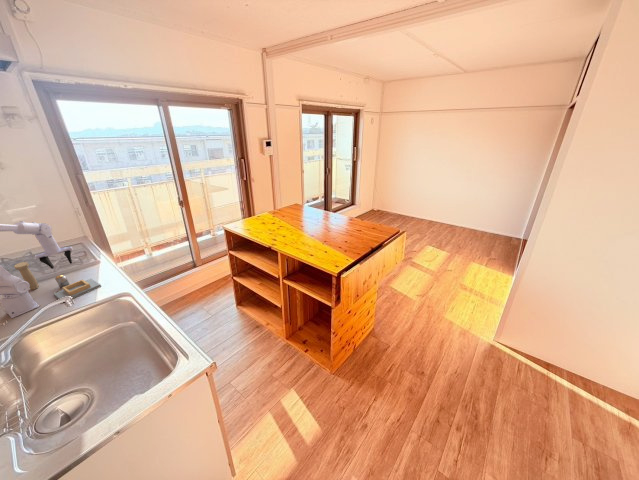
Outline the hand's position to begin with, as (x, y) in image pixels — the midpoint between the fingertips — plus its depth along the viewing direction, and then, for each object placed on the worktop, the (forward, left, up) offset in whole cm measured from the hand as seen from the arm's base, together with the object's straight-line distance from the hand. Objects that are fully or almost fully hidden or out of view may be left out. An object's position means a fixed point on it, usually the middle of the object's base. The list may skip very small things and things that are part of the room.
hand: (62, 265), depth 140 cm
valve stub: (-4, -5, -10) cm, 12 cm away
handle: (-13, +7, -10) cm, 18 cm away
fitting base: (-2, -17, -10) cm, 20 cm away
